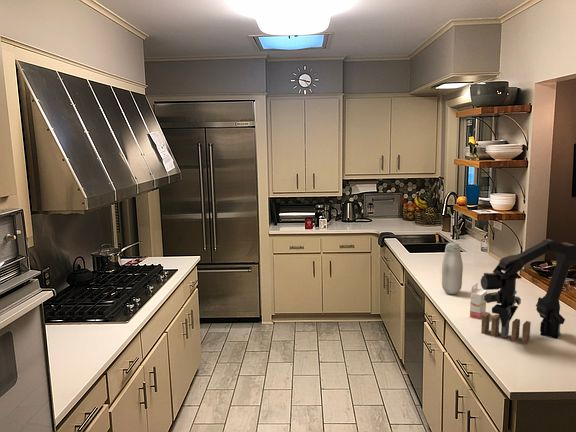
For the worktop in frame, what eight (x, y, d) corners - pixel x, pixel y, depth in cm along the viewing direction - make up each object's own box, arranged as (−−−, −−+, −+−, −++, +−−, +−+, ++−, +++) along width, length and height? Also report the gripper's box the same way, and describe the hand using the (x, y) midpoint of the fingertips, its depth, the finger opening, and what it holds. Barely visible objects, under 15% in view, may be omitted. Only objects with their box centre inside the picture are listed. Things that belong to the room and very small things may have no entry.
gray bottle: (444, 289, 255) (446, 239, 250) (463, 292, 249) (465, 241, 245) (438, 294, 247) (440, 243, 242) (458, 297, 241) (460, 245, 237)
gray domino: (508, 333, 194) (509, 315, 193) (504, 337, 190) (506, 318, 189) (504, 332, 195) (505, 314, 194) (500, 336, 191) (501, 318, 190)
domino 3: (518, 337, 192) (520, 319, 190) (515, 341, 188) (516, 323, 187) (514, 336, 193) (515, 318, 191) (511, 340, 189) (512, 322, 188)
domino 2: (498, 332, 197) (499, 315, 196) (494, 336, 193) (495, 318, 192) (494, 331, 198) (495, 314, 197) (490, 335, 194) (491, 317, 193)
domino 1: (489, 330, 199) (489, 312, 198) (485, 334, 196) (485, 316, 194) (485, 329, 201) (486, 312, 199) (481, 333, 197) (482, 315, 196)
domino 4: (529, 340, 189) (530, 321, 188) (526, 344, 185) (527, 325, 184) (525, 339, 190) (526, 320, 189) (521, 343, 186) (522, 324, 185)
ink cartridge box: (480, 319, 212) (481, 288, 209) (469, 317, 215) (470, 286, 213) (486, 313, 218) (487, 283, 216) (475, 311, 221) (476, 282, 219)
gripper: (494, 279, 202) (492, 313, 204) (479, 290, 188) (477, 326, 190) (522, 284, 194) (520, 319, 197) (508, 296, 181) (506, 333, 183)
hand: (505, 324), depth 192 cm, fingers closed on gray domino, 5 cm apart
